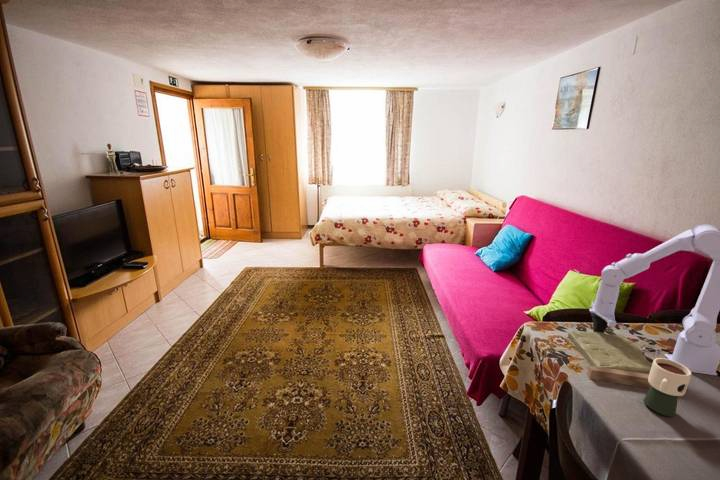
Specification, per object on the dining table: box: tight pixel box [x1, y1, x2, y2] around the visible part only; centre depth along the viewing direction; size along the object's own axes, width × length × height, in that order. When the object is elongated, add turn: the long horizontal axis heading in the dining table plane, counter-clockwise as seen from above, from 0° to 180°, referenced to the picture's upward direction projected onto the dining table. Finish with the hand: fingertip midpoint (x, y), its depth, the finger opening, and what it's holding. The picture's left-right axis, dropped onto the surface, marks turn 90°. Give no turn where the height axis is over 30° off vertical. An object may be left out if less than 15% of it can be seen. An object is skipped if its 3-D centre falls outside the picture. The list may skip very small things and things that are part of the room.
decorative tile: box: [567, 330, 653, 374], centre depth 106 cm, size 19×20×4 cm
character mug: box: [643, 357, 693, 417], centre depth 84 cm, size 11×7×13 cm, turn 127°
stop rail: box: [586, 365, 651, 389], centre depth 94 cm, size 22×2×3 cm, turn 76°
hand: (597, 334), depth 116 cm, fingers closed
